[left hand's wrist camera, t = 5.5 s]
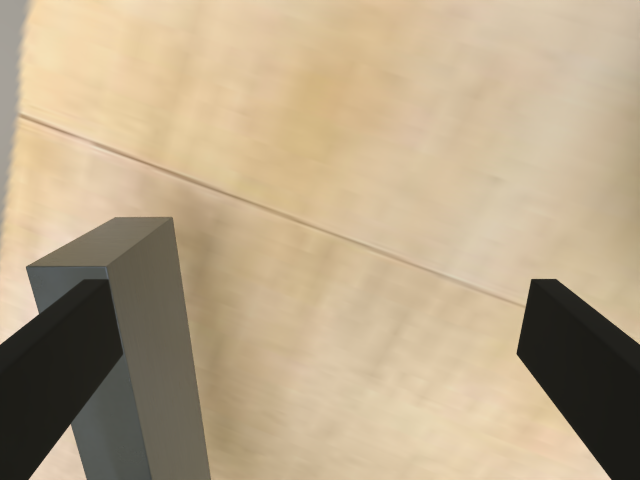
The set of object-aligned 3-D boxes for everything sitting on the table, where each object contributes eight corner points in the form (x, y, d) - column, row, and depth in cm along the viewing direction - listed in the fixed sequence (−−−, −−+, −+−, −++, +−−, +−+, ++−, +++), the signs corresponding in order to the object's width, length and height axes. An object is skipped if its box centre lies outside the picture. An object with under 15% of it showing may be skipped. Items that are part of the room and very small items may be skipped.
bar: (114, 217, 31) (24, 266, 22) (172, 216, 31) (106, 266, 22) (175, 525, 42) (132, 641, 33) (218, 526, 42) (186, 642, 33)
